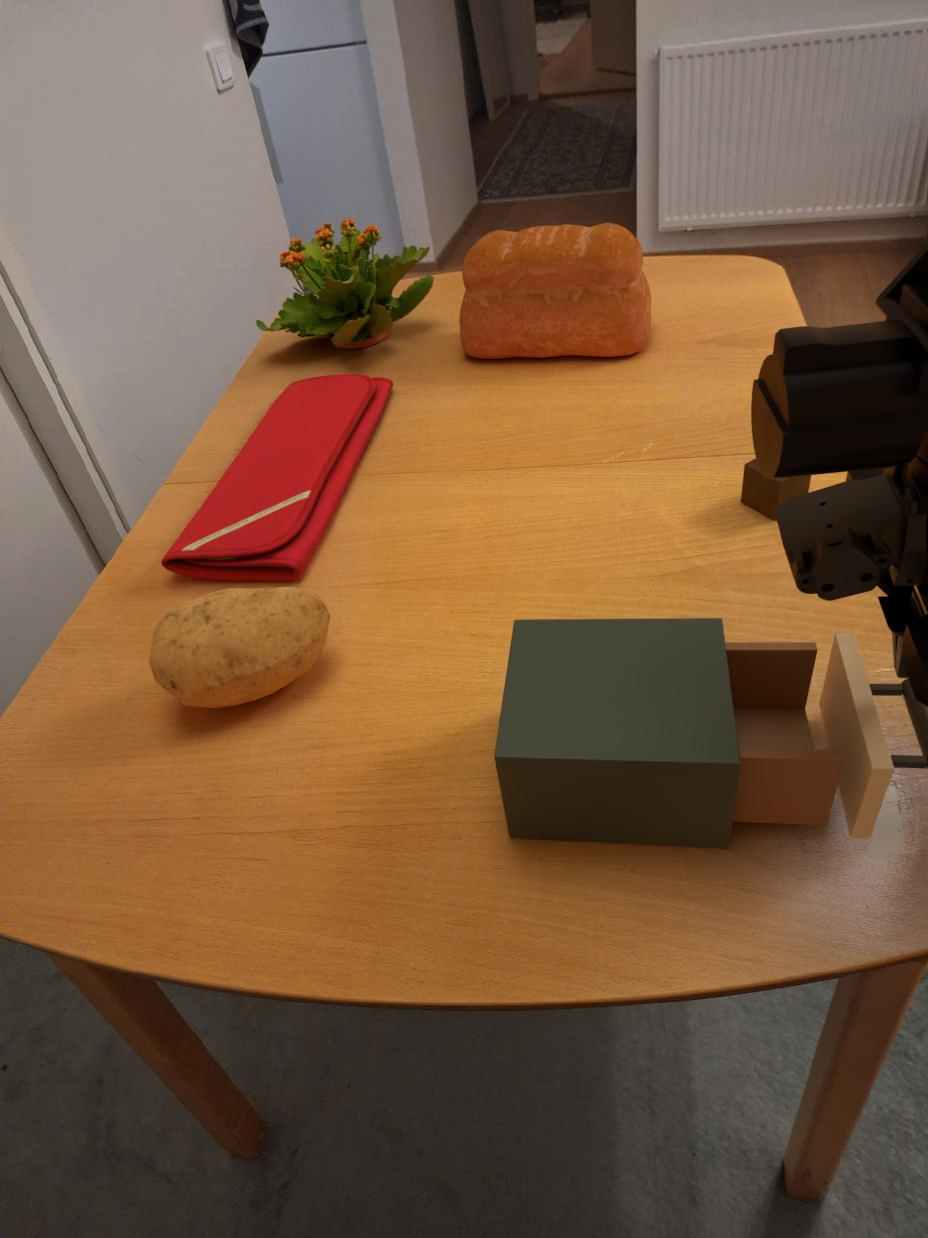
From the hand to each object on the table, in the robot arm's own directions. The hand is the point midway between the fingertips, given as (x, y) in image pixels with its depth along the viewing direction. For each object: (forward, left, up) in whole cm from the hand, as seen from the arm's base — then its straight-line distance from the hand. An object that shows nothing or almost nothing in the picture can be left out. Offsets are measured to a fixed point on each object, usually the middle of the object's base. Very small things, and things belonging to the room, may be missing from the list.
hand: (904, 673), depth 49 cm
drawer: (+6, 0, -9) cm, 11 cm away
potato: (+48, -8, -10) cm, 50 cm away
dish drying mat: (+56, -42, -10) cm, 70 cm away
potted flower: (+56, -82, -10) cm, 100 cm away
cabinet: (+17, 0, -10) cm, 20 cm away
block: (+2, -33, -10) cm, 34 cm away
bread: (+26, -74, -10) cm, 79 cm away
